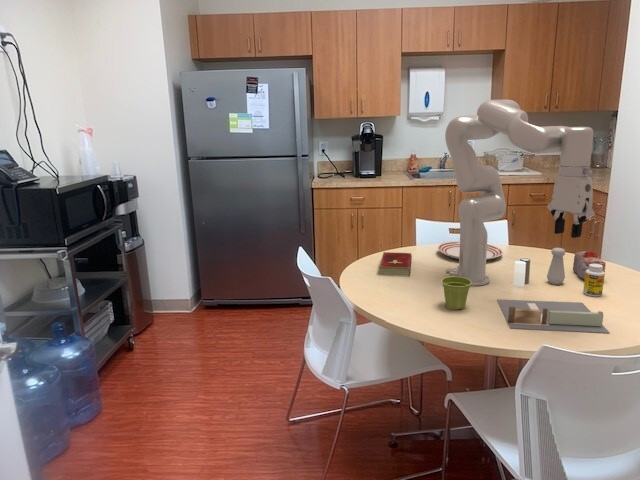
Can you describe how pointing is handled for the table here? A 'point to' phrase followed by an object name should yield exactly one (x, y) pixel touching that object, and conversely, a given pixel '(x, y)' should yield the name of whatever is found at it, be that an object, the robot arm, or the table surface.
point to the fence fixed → (526, 316)
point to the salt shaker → (556, 267)
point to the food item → (585, 262)
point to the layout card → (551, 307)
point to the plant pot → (456, 291)
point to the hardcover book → (395, 264)
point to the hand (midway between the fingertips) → (567, 234)
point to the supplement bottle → (594, 280)
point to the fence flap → (576, 318)
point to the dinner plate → (454, 250)
